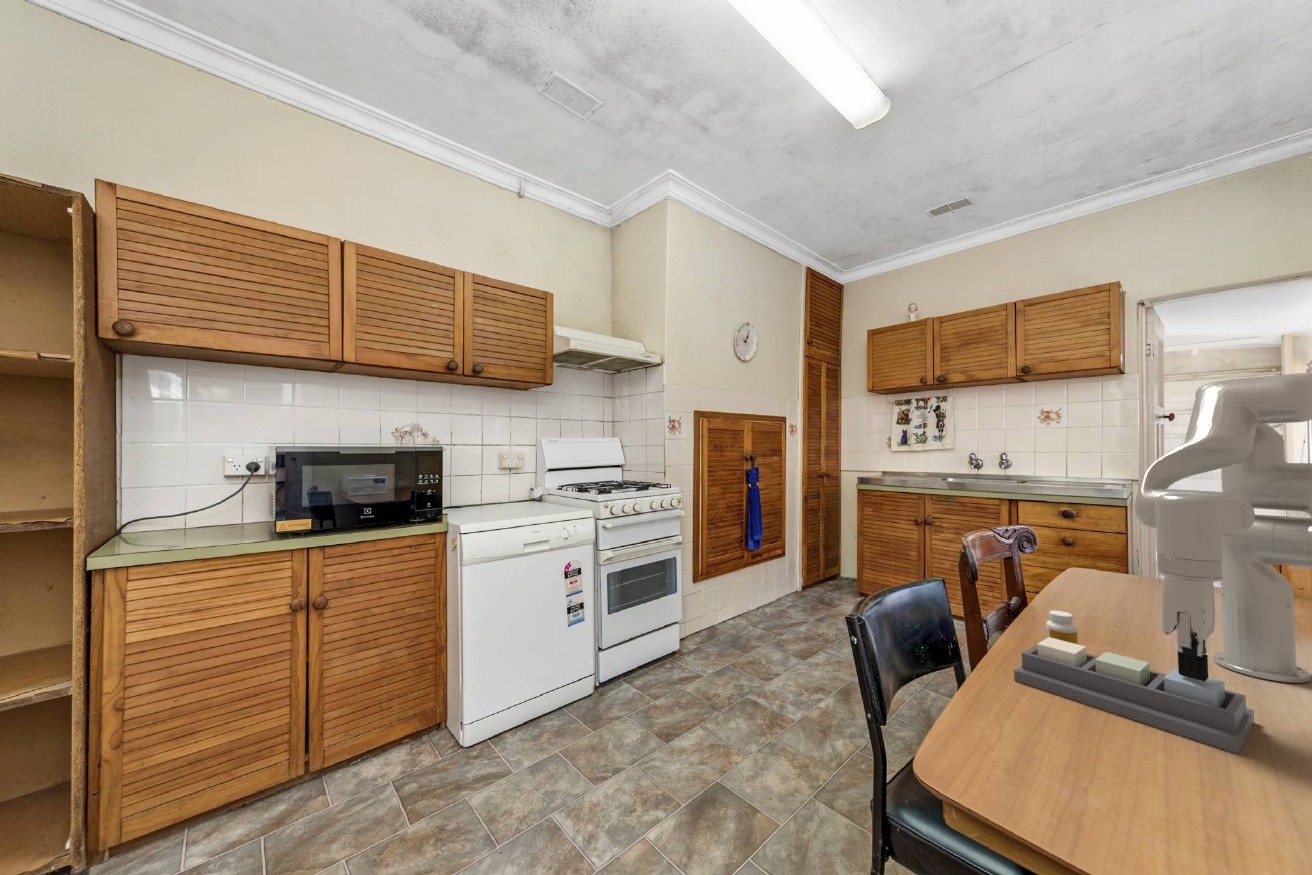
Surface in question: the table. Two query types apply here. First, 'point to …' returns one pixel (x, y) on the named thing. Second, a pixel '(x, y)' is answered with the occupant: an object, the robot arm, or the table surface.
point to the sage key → (1123, 668)
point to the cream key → (1062, 651)
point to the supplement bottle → (1061, 627)
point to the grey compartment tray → (1142, 700)
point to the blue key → (1195, 688)
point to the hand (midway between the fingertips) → (1193, 676)
